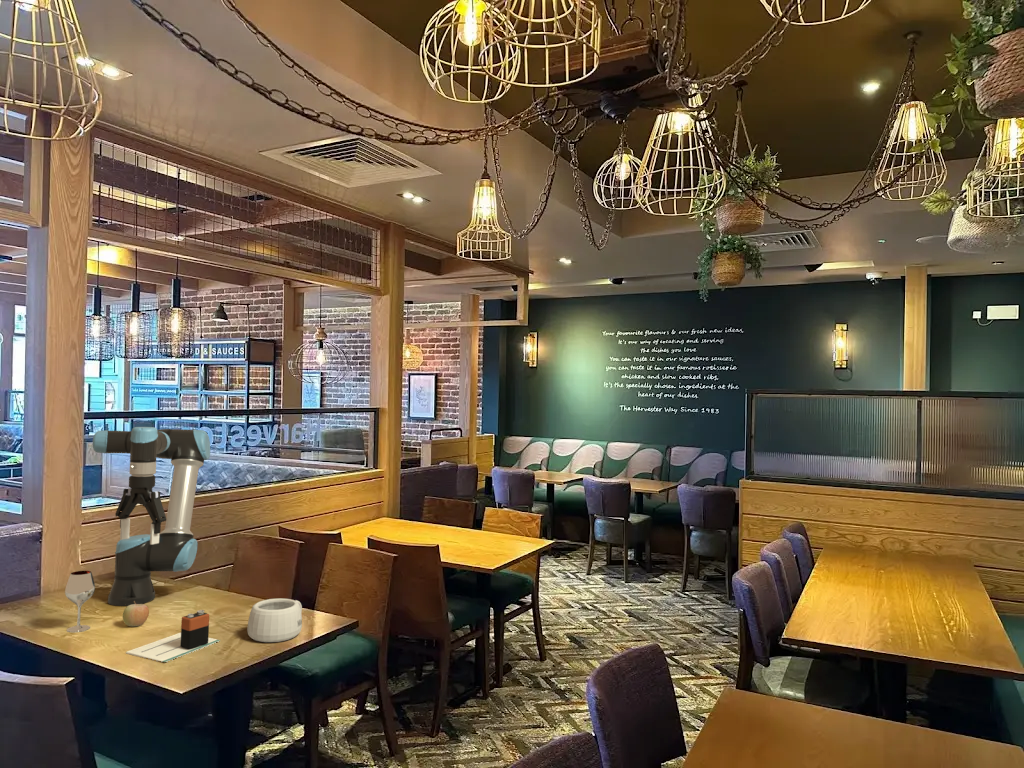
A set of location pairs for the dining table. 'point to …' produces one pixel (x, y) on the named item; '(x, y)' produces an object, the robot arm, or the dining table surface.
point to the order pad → (166, 649)
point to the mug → (275, 620)
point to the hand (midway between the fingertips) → (139, 541)
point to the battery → (194, 630)
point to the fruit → (135, 614)
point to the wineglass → (79, 594)
